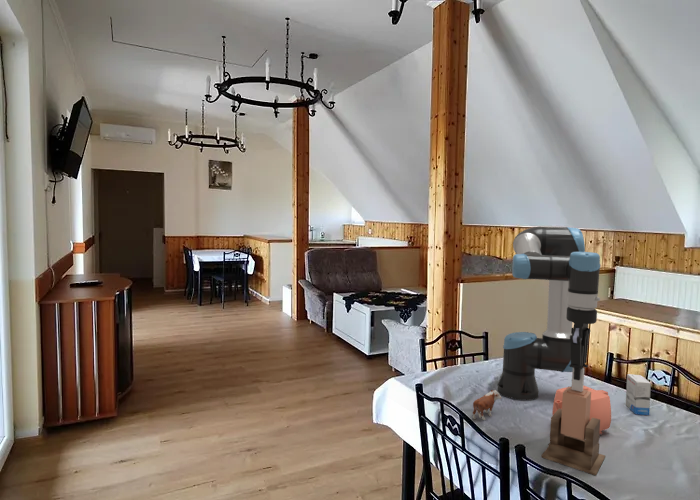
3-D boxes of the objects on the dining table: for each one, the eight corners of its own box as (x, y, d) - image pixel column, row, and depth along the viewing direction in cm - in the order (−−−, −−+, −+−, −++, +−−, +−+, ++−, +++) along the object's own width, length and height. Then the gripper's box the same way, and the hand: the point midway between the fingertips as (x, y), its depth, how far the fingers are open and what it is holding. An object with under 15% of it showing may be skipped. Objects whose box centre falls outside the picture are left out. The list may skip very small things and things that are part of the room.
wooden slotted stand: (541, 457, 130) (543, 418, 129) (553, 441, 139) (555, 405, 139) (595, 475, 121) (598, 434, 120) (605, 457, 131) (607, 418, 130)
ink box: (649, 415, 158) (652, 383, 157) (634, 414, 159) (636, 381, 158) (639, 405, 167) (641, 374, 166) (624, 404, 168) (626, 373, 167)
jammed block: (560, 433, 129) (562, 390, 128) (566, 425, 134) (568, 384, 133) (583, 440, 126) (586, 396, 125) (588, 432, 130) (591, 390, 129)
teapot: (570, 444, 138) (572, 399, 137) (538, 426, 149) (540, 384, 148) (621, 432, 146) (624, 389, 145) (587, 416, 158) (589, 376, 157)
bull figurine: (502, 413, 159) (503, 390, 158) (478, 423, 151) (479, 399, 150) (492, 409, 162) (493, 386, 161) (467, 418, 154) (468, 395, 153)
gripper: (591, 313, 119) (586, 400, 121) (602, 306, 129) (597, 386, 131) (561, 309, 124) (556, 393, 126) (573, 302, 134) (569, 380, 136)
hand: (577, 389), depth 129 cm, fingers closed
